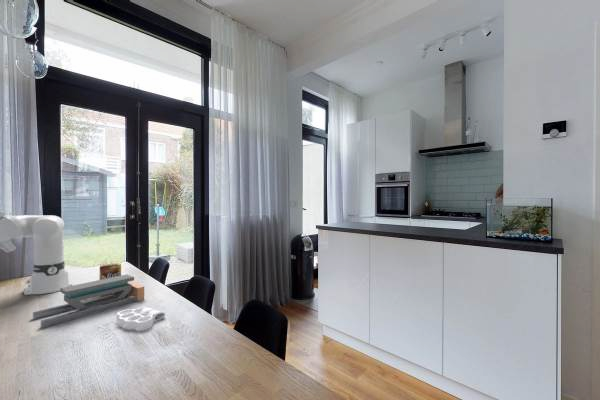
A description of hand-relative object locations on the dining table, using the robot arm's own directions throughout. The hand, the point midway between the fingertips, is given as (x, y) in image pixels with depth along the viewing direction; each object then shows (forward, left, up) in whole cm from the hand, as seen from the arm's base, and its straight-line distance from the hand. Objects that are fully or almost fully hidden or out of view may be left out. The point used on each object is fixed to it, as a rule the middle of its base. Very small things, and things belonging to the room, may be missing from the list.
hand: (12, 250), depth 99 cm
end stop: (+2, +41, -29) cm, 50 cm away
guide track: (+2, +23, -29) cm, 37 cm away
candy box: (-11, +35, -29) cm, 47 cm away
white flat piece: (+32, +30, -29) cm, 53 cm away
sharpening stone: (+2, +26, -29) cm, 39 cm away
